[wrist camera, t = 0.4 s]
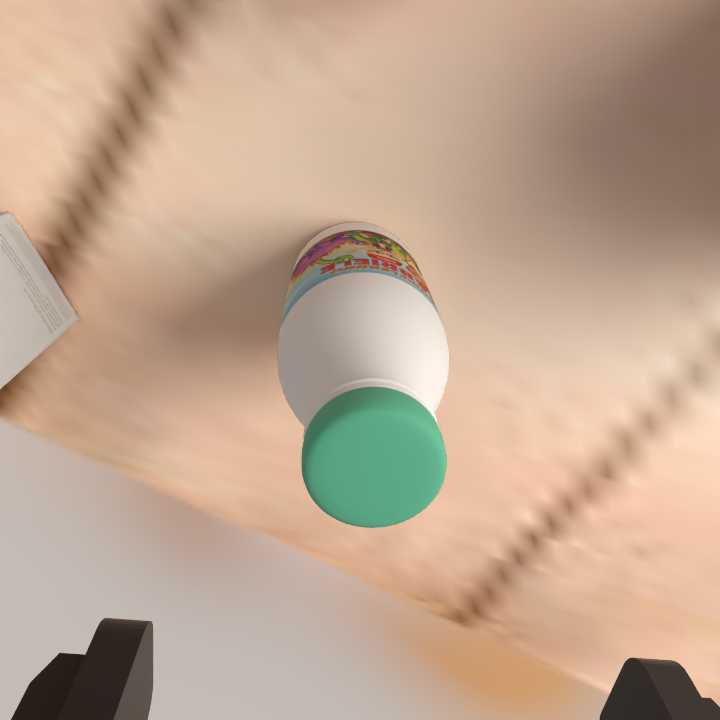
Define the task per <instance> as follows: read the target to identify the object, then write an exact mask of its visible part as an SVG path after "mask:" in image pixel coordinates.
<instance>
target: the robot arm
mask: <svg viewBox="0 0 720 720" xmlns="http://www.w3.org/2000/svg"><path fill="white" fill-rule="evenodd" d="M152 691H153V624H152V622H151V621H140V620H125V619H112V618H104V619H103V620H102V621H101V622H100V624H99V626H98V628H97V630H96V632H95V634H94V637H93V639H92V641H91V643H90V646H89V648H88V650H87V653H86V655H80V654H67V653H59V654H58V655H57V656H56V657H55V658H54V659H53V660H52V661H51V663H49V664H48V666H46V667H45V668H44V670H42V671H41V672H40V673H39V674H38V675H37V676H36V677H35V678H34V679H33V680H32V682H31V683H30V684H29V686H28V688H27V690H26V692H25V694H24V695H23V697H22V699H21V702H20V704H19V705H18V707H17V709H16V711H15V713H14V715H13V717H12V719H11V720H147V719H148V714H149V710H150V705H151V699H152ZM600 720H720V707H719V706H718V705H717V704H716V703H715V702H714V701H713V700H712V699H711V698H702V697H701V696H700V694H699V692H698V691H697V689H696V687H695V685H694V684H693V682H692V680H691V679H690V677H689V675H688V674H687V672H686V671H685V669H684V668H683V667H682V666H681V665H680V664H679V663H677V662H675V661H671V660H657V659H643V658H629V659H628V660H627V661H626V662H625V663H624V665H623V667H622V669H621V671H620V674H619V676H618V678H617V680H616V682H615V684H614V686H613V688H612V691H611V693H610V695H609V697H608V699H607V701H606V704H605V706H604V708H603V710H602V712H601V715H600Z"/></svg>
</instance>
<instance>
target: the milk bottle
mask: <svg viewBox="0 0 720 720" xmlns="http://www.w3.org/2000/svg"><path fill="white" fill-rule="evenodd" d="M277 361H278V372H279V378H280V382H281V386H282V389H283V392H284V395H285V397H286V400H287V402H288V404H289V406H290V407H291V409H292V411H293V412H294V414H295V415H296V417H297V418H298V419H299V421H300V422H301V423H302V424H303V425H304V426H305V429H304V442H303V448H302V475H303V479H304V482H305V485H306V487H307V490H308V492H309V494H310V496H311V498H312V499H313V500H314V502H315V503H316V504H317V505H318V506H319V507H320V508H321V509H322V510H323V511H324V512H325V513H327V514H328V515H330V516H331V517H333V518H335V519H337V520H339V521H341V522H343V523H346V524H350V525H354V526H359V527H369V528H375V527H385V526H391V525H395V524H398V523H401V522H404V521H406V520H408V519H410V518H412V517H414V516H416V515H417V514H419V513H420V512H421V511H423V510H424V509H425V508H426V507H427V506H428V505H429V504H430V503H431V502H432V501H433V500H434V498H435V497H436V496H437V494H438V492H439V491H440V489H441V486H442V484H443V481H444V477H445V472H446V464H447V458H446V450H445V446H444V441H443V438H442V435H441V432H440V430H439V427H438V422H437V419H436V416H435V414H434V413H435V411H436V409H437V407H438V406H439V404H440V401H441V399H442V397H443V394H444V391H445V387H446V384H447V378H448V371H449V352H448V344H447V338H446V334H445V330H444V327H443V324H442V321H441V318H440V316H439V313H438V310H437V308H436V306H435V303H434V301H433V299H432V296H431V294H430V292H429V289H428V287H427V285H426V283H425V281H424V279H423V277H422V274H421V272H420V270H419V268H418V266H417V264H416V262H415V260H414V258H413V256H412V255H411V253H410V251H409V250H408V248H407V247H406V246H405V244H404V243H403V242H402V241H401V240H400V239H399V238H398V237H396V236H395V235H394V234H392V233H391V232H389V231H388V230H386V229H384V228H382V227H379V226H376V225H373V224H369V223H362V222H349V223H343V224H338V225H335V226H332V227H330V228H327V229H326V230H324V231H322V232H320V233H319V234H317V235H316V236H315V237H314V238H312V239H311V240H310V241H309V242H308V243H307V245H306V246H305V247H304V248H303V250H302V251H301V253H300V255H299V257H298V258H297V261H296V263H295V266H294V269H293V272H292V276H291V280H290V284H289V289H288V293H287V297H286V302H285V306H284V311H283V316H282V321H281V326H280V333H279V341H278V351H277Z"/></svg>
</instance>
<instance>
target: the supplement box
mask: <svg viewBox="0 0 720 720" xmlns="http://www.w3.org/2000/svg"><path fill="white" fill-rule="evenodd" d="M77 321H79V318H78V316H77V315H76V313H75V311H74V310H73V308H72V306H71V305H70V303H69V301H68V300H67V298H66V297H65V295H64V294H63V292H62V290H61V289H60V287H59V286H58V284H57V282H56V281H55V279H54V277H53V276H52V274H51V273H50V271H49V270H48V268H47V266H46V265H45V263H44V262H43V260H42V258H41V257H40V255H39V254H38V252H37V251H36V249H35V247H34V246H33V244H32V243H31V241H30V240H29V238H28V236H27V235H26V233H25V232H24V230H23V228H22V227H21V225H20V224H19V222H18V221H17V220H16V218H15V217H14V215H13V214H12V213H11V212H6V213H3V214H0V389H1V388H2V387H3V386H4V385H5V384H7V383H8V382H9V381H10V380H11V379H12V378H13V377H15V376H16V375H17V374H18V373H19V372H20V371H21V370H22V369H24V368H25V367H26V366H27V365H28V364H29V363H30V362H32V361H33V360H34V359H35V358H36V357H37V356H38V355H39V354H41V353H42V352H43V351H44V350H45V349H46V348H47V347H49V346H50V345H51V344H52V343H53V342H54V341H55V340H56V339H58V338H59V337H60V336H61V335H62V334H63V333H65V332H66V331H67V330H68V329H69V328H70V327H71V326H72V325H74V324H75V323H76V322H77Z"/></svg>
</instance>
